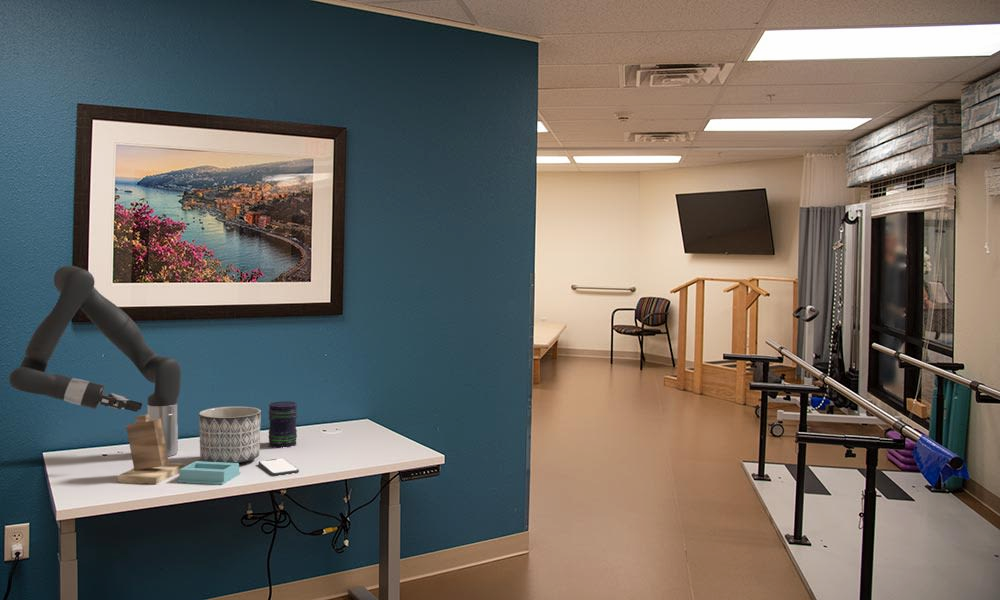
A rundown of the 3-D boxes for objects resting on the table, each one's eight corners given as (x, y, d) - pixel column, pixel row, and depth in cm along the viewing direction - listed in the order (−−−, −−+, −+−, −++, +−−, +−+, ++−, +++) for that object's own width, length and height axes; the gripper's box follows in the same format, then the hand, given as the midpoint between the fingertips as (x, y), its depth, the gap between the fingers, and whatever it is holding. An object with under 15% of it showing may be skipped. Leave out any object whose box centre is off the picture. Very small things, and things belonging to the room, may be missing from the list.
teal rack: (197, 471, 241) (197, 460, 241) (240, 473, 240) (240, 462, 240) (177, 482, 229) (177, 470, 229) (222, 484, 228) (222, 472, 228)
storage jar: (280, 440, 285) (280, 400, 284) (302, 443, 281) (302, 402, 281) (262, 446, 276) (262, 404, 275) (285, 449, 272) (285, 407, 272)
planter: (187, 461, 253) (187, 412, 252) (238, 451, 268) (238, 404, 267) (220, 472, 241) (221, 420, 240) (272, 460, 256) (272, 411, 256)
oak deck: (148, 468, 244) (148, 461, 244) (184, 469, 243) (184, 463, 243) (117, 482, 228) (117, 475, 228) (156, 484, 227) (156, 477, 227)
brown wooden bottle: (141, 467, 238) (132, 416, 237) (168, 462, 237) (159, 411, 236) (134, 470, 234) (124, 418, 233) (161, 466, 233) (152, 414, 232)
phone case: (300, 474, 243) (283, 462, 256) (300, 469, 242) (283, 457, 256) (272, 478, 238) (257, 465, 251) (272, 473, 237) (257, 461, 251)
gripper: (84, 382, 227) (142, 397, 232) (92, 380, 241) (146, 394, 245) (75, 407, 226) (133, 421, 231) (84, 403, 239) (138, 417, 244)
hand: (140, 407), depth 238 cm, fingers open, 8 cm apart
